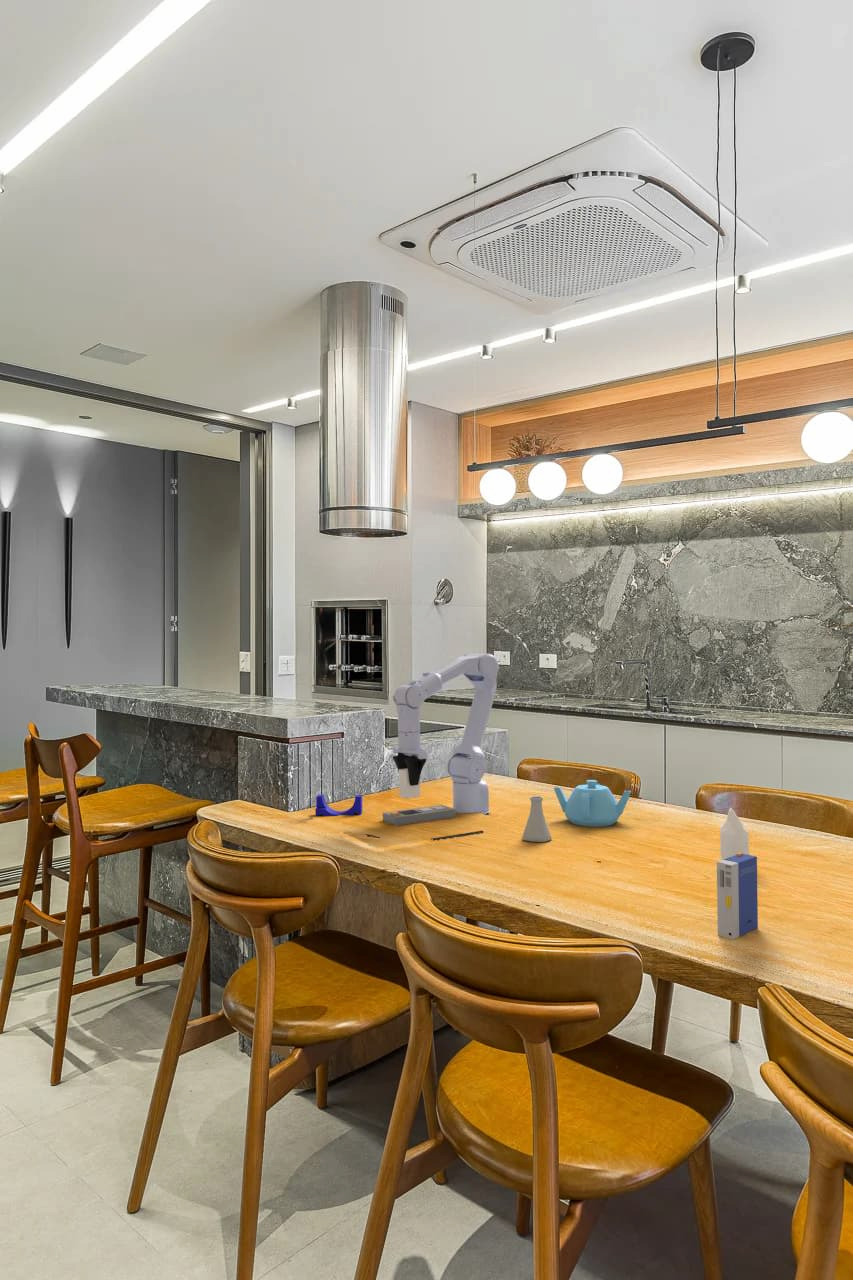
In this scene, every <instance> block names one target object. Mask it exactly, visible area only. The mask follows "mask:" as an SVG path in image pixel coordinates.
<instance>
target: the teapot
mask: <svg viewBox="0 0 853 1280" xmlns="http://www.w3.org/2000/svg"><path fill="white" fill-rule="evenodd" d="M585 782H586V784H579V785H577V786H576V787H574V789H573V790H572V792H571V794H570V795H569V797H568V798H567V795H566V794H565V793H564V792H563V790H562V788H561V786H554V787H553V791H554V792H555V794H556V797H557V800H558V802H559V805H560V808H561V810H562V812H563V813H564V815H565V817H566V820H568V821H569V822H570V823H571V824H573V825H576V826H581V827H590V828H591V827H593V828H594V827H595V828H597V827H609V826H613V825H614V824H615V823H616V822H618V820H619V819H620V817H621V816H622V814H623V813H624V810H625V808H626V805H627V802H628V801H629V799H630V796H631V795H632V794H631V793H632V790H624V791H623V793H622V795H621V797H620V798H619V800H618V802H617V800H616V798H615V796H614V794H613V792H612V791H611V790H610V788H609V787H608V786H606V785H601V784H600V783H598V780H596V779H587V780H586V781H585Z"/></svg>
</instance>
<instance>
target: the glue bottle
mask: <svg viewBox="0 0 853 1280" xmlns="http://www.w3.org/2000/svg"><path fill="white" fill-rule="evenodd" d="M719 830H720V835H719V836H720V859H721V860H723V859H726V858H729V857H732V856H735V855H736V853H739V852H740V853H743V854H747V855H750V844H749V843H750V842H749V840H750V837H749V836H750V835H749V832H748V830H747V829H746V828H745V827H744V824H743V822H742V821H741V820H740V818H739V816H737V813H736V812H735V810H734V809H733V808H732V807H730V808H729V809H728V814H727V818H726V819H725V821H724V822H723V823H722V824H721V826H720V827H719Z"/></svg>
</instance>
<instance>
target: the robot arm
mask: <svg viewBox="0 0 853 1280" xmlns="http://www.w3.org/2000/svg"><path fill="white" fill-rule="evenodd" d="M499 669H500V664H499V663H498V661H497V658H496V656H495V655H494V654H492V653H465V654H463V655H461V656H458V657H457V658H456V659H455V660H454V661H452V662H451V663H449V664H448V665H446V666H445V667H443V668H442V669H440V670H439V671H437V672H434V671H424V672H423V673H422V675H421V676H419V677H418V678H416V679H411V680H409V683H408V684H402V685H399V686H398V687H397V688H396V690H395V691H394V695H392V700H393V702H394V704H395V706H396V712H397V740H398V741H397V743H398V744H397V745H392V754H397V755H393V756H392V760H393V761H394V763H395V765H396V768H397V771H398V772H399V769H406V768H407V769H408V775H409V783H410V785H411V786H413V785H418V783H419V779H420V780H421V774H422V771H423V768H424V766H425V764H426V763H427V758H428V751H427V750H424V749H423V748H421V707H422V706H423V704H424V703H425V700H426V699H428V698H430V697H431V696H434V695H435V694H437V693H438V692H440V691H441V690H442V689H443V684H445V683H447V682H449V681H451V680H453V679H455V678H458V677H459V676H461V675H463V676H464V677H465V678H466V679H467V680H468V681H469V683H470V684H472V686H473V687H474V691H475V692H474V695H473V698H472V703H471V707H470V710H469V714H468V717H467V721H466V726H465V728H464V732H463V736H462V739H461V743H460V744H459V745H458V746H457V747H456V748H454V749H453V751H452V755H451V757H449V759H448V761H447V764H446V772H447V774H448V776H449V777H450V779H451V781H452V808H453V809H456V814H457V813H458V814H475V813H477V814H481V815H488V814H487V813H490V814H491V811H490V805H489V804H490V797H489V795H490V792H489V787H488V783H487V782H486V781H485V780H484V779H483V777H484V775H485V771H486V766H485V765H486V764H485V761H486V755H485V754H484V752H483V750H482V746H483V741H484V737H485V733H486V731H487V727H488V724H489V723H488V722H489V719H490V714H491V712H492V711H491V710H492V707H493V704H494V700H495V696H496V692H497V688H498V687H497V676H498V673H499Z"/></svg>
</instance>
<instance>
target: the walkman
mask: <svg viewBox="0 0 853 1280" xmlns="http://www.w3.org/2000/svg"><path fill="white" fill-rule="evenodd" d="M716 891H717V893H716V896H717V897H716V898H717V899H716V900H717V901H716V902H717V903H716V904H717V906H716V907H717V936H721V937H724V938H725V939H729V940H732V941H733V940H735V939H737V938H739V937H742V936H744V935H746V934H747V933H750V932H752V931H754V930H756V929H759V920H758V918H759V917H758V916H759V915H758V914H759V912H758V910H759V909H758V905H759V904H758V902H759V901H758V857H757V856H756V855H750V854H749V855H747V854H743V853H740V852H739V853H736V855H735V856H732V857H729V858H726V859H723V860H717V861H716Z"/></svg>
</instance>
